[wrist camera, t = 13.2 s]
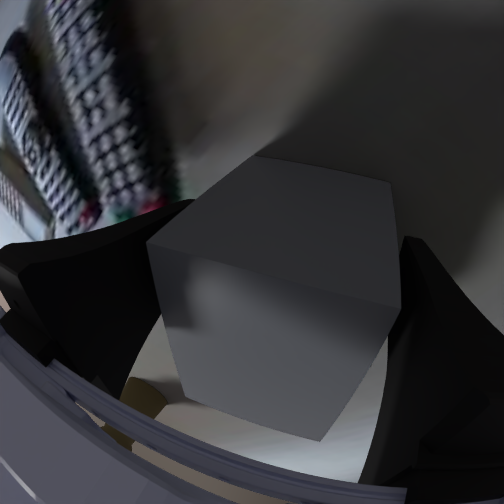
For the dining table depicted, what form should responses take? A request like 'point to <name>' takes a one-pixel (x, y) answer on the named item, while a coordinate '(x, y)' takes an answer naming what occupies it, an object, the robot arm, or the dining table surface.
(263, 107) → the dining table surface
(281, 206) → the dark gray square block
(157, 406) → the cork
